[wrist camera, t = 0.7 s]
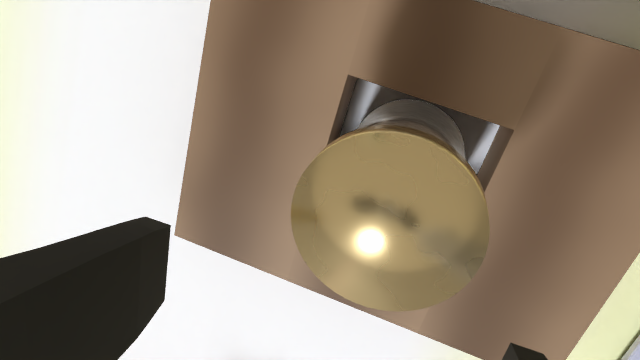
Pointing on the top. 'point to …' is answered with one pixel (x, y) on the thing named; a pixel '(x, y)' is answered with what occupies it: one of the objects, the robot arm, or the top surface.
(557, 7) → the top surface
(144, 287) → the robot arm
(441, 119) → the gold rounded piece
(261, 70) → the housing
